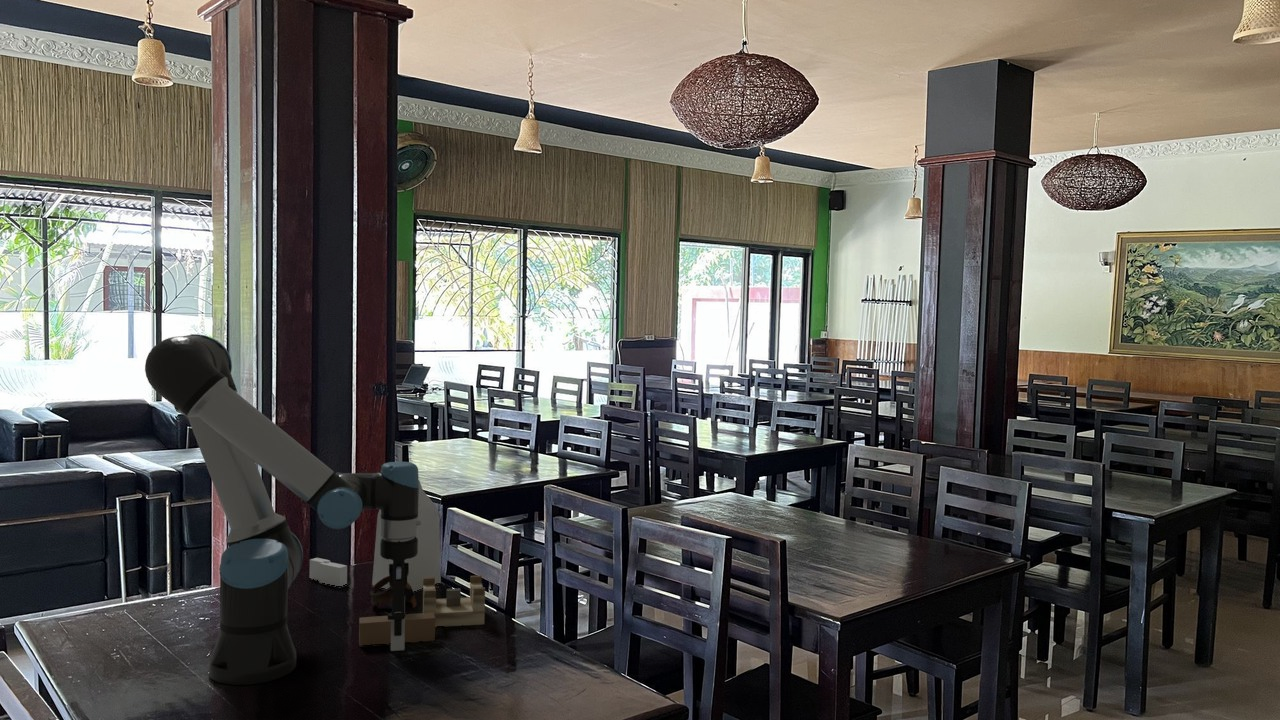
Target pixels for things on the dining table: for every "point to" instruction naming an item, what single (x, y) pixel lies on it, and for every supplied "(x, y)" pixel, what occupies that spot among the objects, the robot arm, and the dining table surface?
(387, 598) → the brown looped band sculpture
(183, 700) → the dining table surface
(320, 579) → the napkin holder
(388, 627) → the brown wooden block
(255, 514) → the robot arm
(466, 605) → the display stand
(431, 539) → the milk
